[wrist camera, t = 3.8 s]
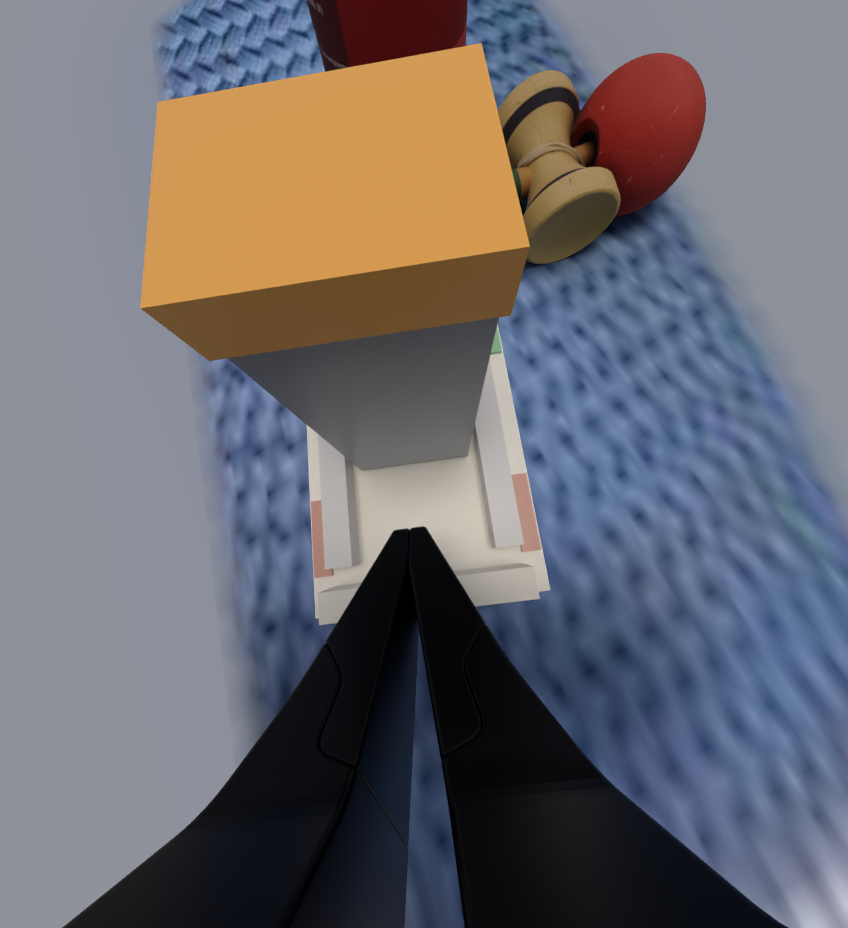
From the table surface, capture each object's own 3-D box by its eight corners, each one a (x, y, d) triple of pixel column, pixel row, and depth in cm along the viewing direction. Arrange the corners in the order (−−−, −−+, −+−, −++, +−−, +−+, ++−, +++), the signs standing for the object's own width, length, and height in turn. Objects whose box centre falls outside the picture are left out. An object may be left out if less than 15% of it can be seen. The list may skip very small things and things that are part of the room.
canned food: (485, 114, 22) (520, -279, 12) (414, 198, 21) (379, -154, 10) (393, 74, 24) (348, -309, 13) (321, 150, 23) (208, -202, 12)
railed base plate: (531, 581, 16) (568, 598, 11) (339, 604, 16) (292, 631, 11) (476, 287, 19) (485, 202, 15) (321, 311, 20) (280, 236, 15)
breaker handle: (470, 460, 14) (529, 247, 4) (359, 475, 14) (139, 307, 4) (458, 383, 15) (481, 43, 5) (352, 398, 15) (157, 101, 5)
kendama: (392, 349, 20) (707, 224, 18) (344, 254, 15) (794, 52, 12) (369, 266, 24) (634, 150, 21) (322, 161, 18) (677, -14, 16)
